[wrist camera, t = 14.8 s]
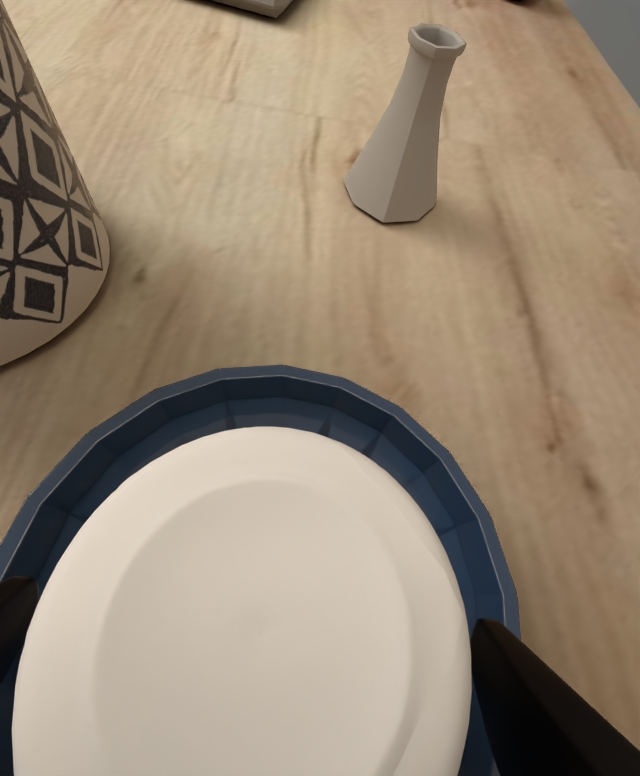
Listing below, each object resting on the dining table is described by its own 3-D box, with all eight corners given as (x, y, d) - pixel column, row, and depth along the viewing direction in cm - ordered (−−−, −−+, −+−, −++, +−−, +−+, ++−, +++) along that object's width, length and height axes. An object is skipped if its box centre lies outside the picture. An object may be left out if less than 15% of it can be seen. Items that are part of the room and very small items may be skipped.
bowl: (463, 937, 12) (558, 1107, 8) (-68, 846, 12) (-241, 981, 8) (458, 444, 20) (503, 411, 16) (147, 379, 20) (118, 328, 16)
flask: (449, 211, 30) (524, 57, 21) (379, 236, 28) (431, 73, 19) (396, 160, 32) (443, 3, 24) (327, 179, 30) (352, 12, 21)
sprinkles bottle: (201, 553, 16) (6, 462, 4) (304, 524, 17) (391, 382, 5) (219, 682, 14) (-58, 1241, 2) (334, 639, 15) (586, 848, 3)
